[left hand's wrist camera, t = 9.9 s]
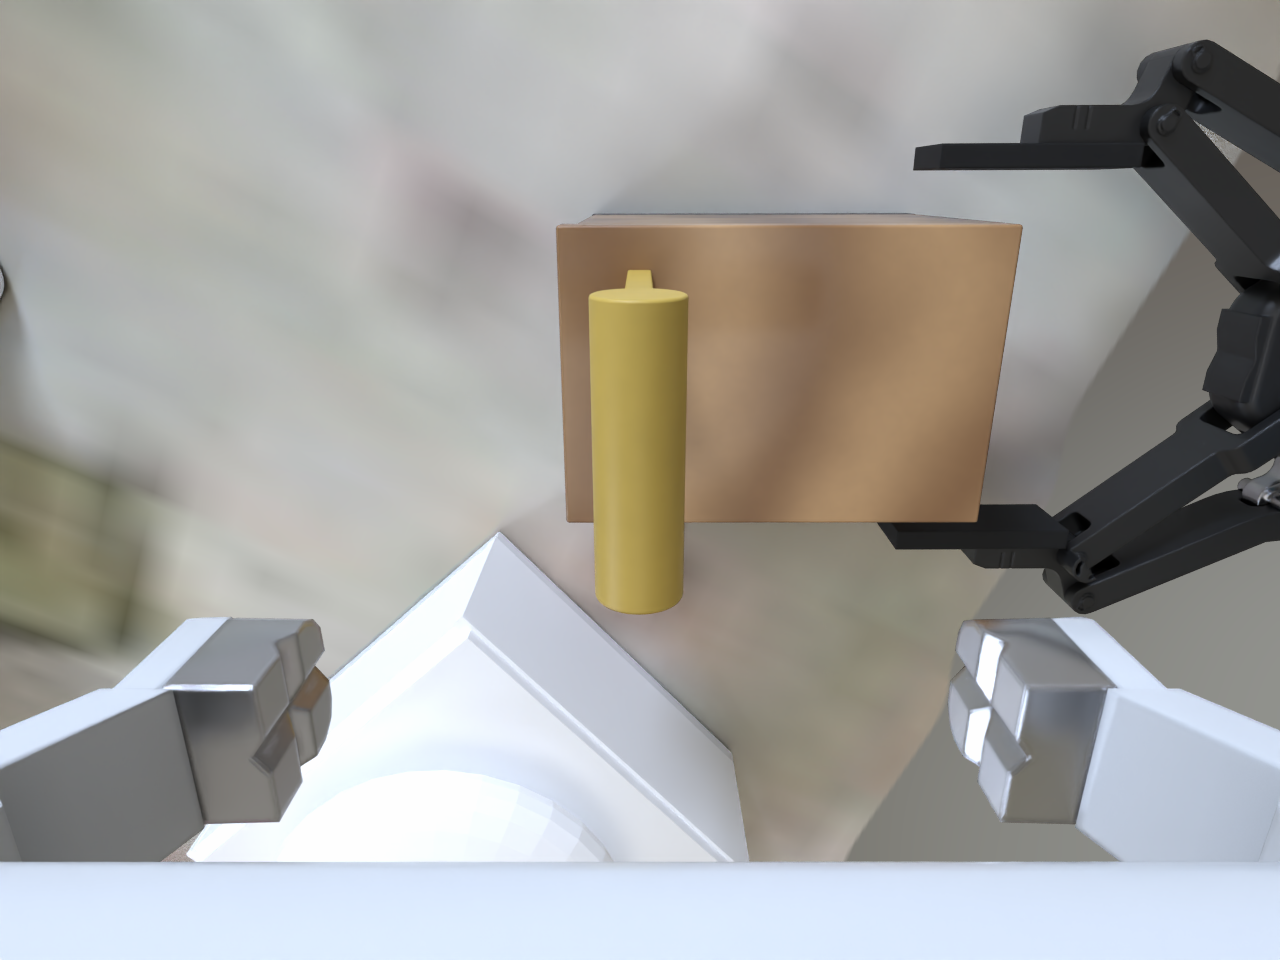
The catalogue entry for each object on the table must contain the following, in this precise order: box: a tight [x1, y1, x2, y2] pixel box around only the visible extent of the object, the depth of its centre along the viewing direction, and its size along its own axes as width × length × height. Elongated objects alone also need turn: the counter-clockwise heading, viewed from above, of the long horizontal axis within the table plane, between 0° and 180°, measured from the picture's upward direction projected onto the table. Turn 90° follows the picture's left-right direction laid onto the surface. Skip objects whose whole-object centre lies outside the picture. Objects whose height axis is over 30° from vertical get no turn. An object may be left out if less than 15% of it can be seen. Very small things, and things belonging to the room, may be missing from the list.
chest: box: [578, 213, 1001, 224], centre depth 30 cm, size 13×9×10 cm
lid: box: [556, 223, 1023, 615], centre depth 22 cm, size 14×9×9 cm
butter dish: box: [186, 531, 749, 862], centre depth 35 cm, size 18×18×16 cm
